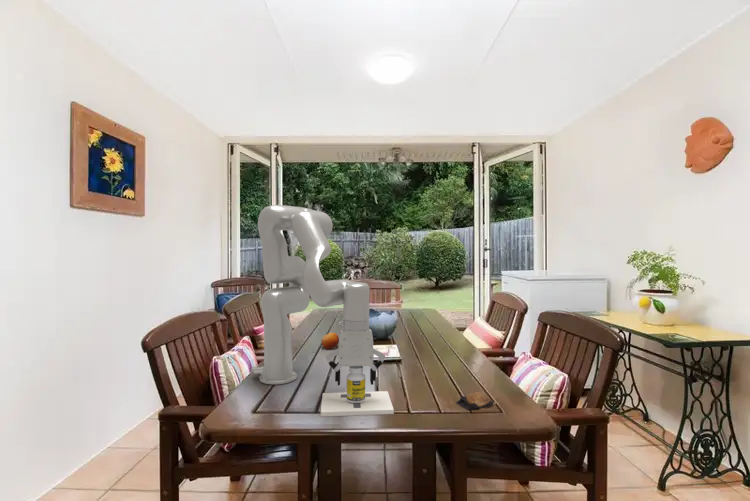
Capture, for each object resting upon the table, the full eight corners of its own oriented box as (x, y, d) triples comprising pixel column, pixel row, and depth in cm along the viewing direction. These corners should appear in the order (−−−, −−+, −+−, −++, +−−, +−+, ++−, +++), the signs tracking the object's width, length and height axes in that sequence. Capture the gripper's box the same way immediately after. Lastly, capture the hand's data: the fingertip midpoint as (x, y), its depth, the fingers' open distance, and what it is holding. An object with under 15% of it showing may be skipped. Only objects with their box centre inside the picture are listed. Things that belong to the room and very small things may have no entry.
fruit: (342, 347, 177) (333, 331, 177) (327, 356, 177) (317, 340, 177) (344, 342, 185) (335, 327, 185) (329, 351, 185) (320, 336, 185)
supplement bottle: (351, 405, 113) (351, 370, 113) (343, 398, 118) (343, 365, 118) (368, 401, 116) (368, 367, 116) (360, 395, 121) (360, 362, 121)
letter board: (320, 416, 109) (320, 411, 109) (322, 397, 123) (322, 392, 123) (393, 414, 111) (393, 408, 111) (387, 394, 125) (387, 390, 125)
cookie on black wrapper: (477, 397, 125) (478, 385, 125) (499, 406, 118) (499, 394, 118) (452, 404, 119) (452, 391, 119) (473, 414, 112) (473, 401, 112)
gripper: (325, 328, 112) (324, 388, 113) (387, 327, 114) (386, 387, 114) (326, 322, 120) (325, 379, 120) (384, 322, 121) (383, 378, 122)
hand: (355, 383), depth 117 cm, fingers open, 9 cm apart
